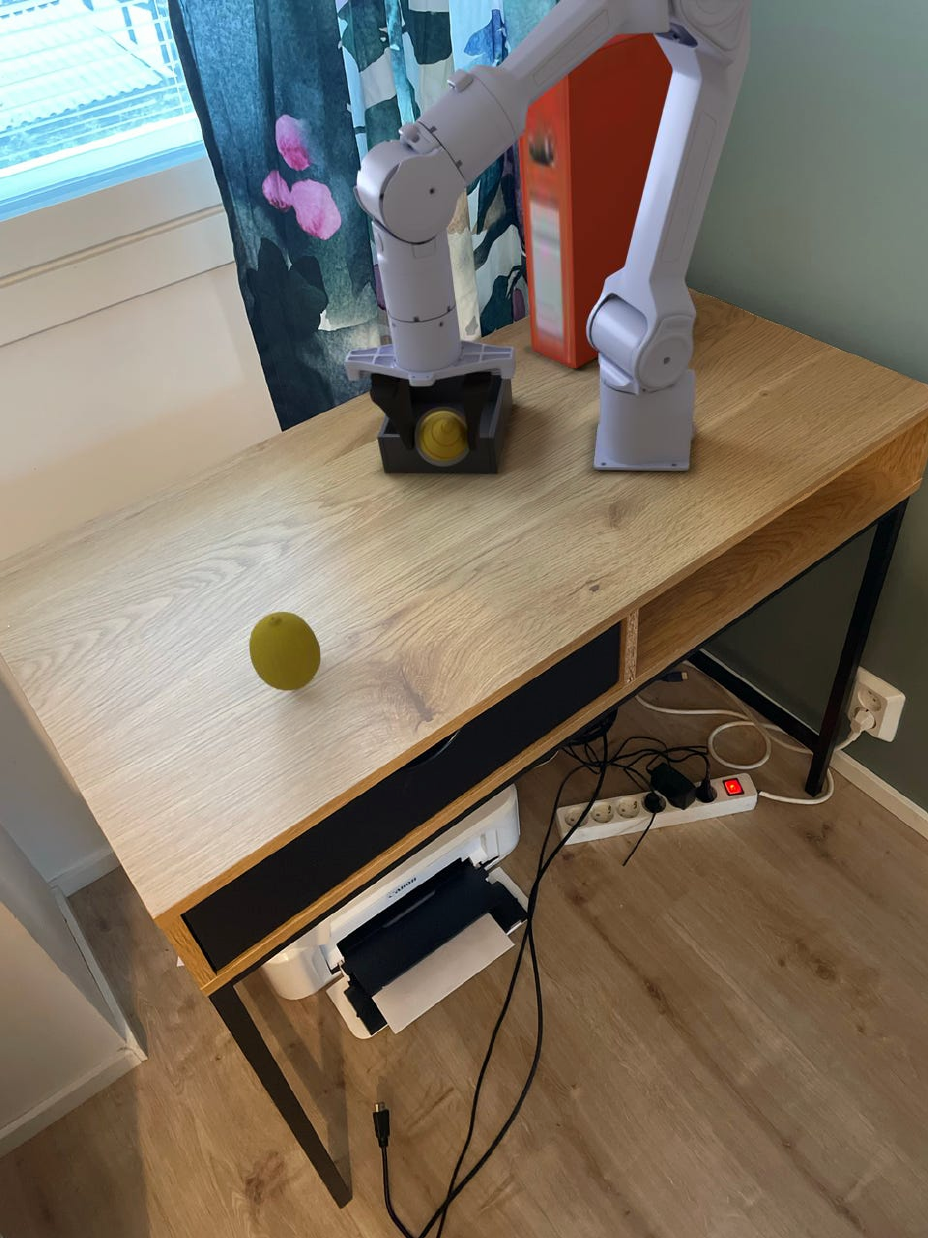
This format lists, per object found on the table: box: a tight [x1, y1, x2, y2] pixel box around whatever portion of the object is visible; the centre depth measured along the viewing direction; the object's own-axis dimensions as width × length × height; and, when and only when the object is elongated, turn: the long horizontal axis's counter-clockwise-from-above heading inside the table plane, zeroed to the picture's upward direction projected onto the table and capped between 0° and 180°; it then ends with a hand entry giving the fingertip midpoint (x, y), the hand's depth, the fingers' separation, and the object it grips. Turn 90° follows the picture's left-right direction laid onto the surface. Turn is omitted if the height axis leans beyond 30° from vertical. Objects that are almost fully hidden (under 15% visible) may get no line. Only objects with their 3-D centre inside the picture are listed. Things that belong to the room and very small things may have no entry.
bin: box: [376, 375, 514, 475], centre depth 97 cm, size 12×13×4 cm
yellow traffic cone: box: [415, 407, 469, 467], centre depth 81 cm, size 5×5×10 cm
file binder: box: [517, 33, 673, 370], centre depth 100 cm, size 8×17×32 cm, turn 129°
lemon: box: [248, 611, 321, 692], centre depth 73 cm, size 6×6×8 cm
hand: (442, 444), depth 83 cm, fingers closed on yellow traffic cone, 5 cm apart
